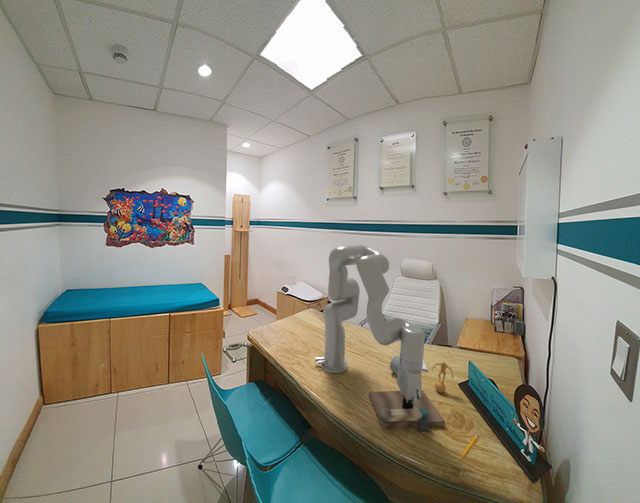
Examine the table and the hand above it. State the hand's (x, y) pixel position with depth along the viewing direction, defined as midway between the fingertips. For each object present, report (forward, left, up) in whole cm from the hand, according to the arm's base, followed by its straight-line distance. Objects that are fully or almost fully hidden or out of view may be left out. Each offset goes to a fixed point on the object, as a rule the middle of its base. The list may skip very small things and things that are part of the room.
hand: (407, 410), depth 89 cm
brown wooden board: (0, +3, -3) cm, 4 cm away
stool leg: (-3, -3, 0) cm, 4 cm away
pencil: (+14, -13, -3) cm, 20 cm away
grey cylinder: (+9, +26, -3) cm, 27 cm away
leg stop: (+3, -6, -3) cm, 7 cm away
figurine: (+20, +13, -3) cm, 24 cm away
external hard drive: (+19, +34, -3) cm, 39 cm away
